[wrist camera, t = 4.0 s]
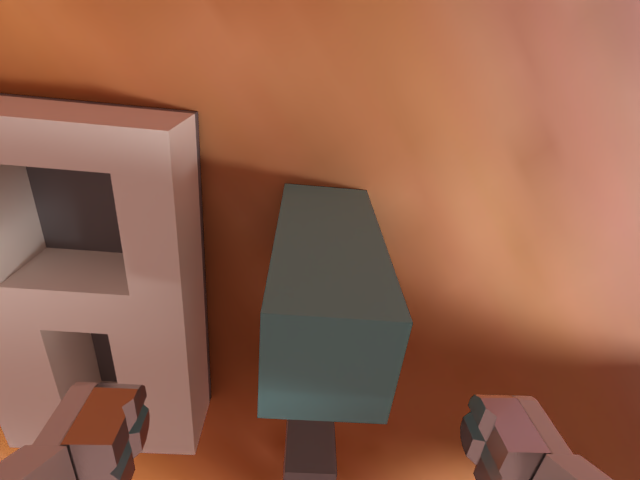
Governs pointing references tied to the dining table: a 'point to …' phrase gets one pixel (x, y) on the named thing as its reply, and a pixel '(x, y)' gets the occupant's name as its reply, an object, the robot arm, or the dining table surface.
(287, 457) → the flat tab
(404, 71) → the dining table surface
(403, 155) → the dining table surface
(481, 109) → the dining table surface
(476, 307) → the dining table surface
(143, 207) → the socket block
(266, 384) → the square peg
